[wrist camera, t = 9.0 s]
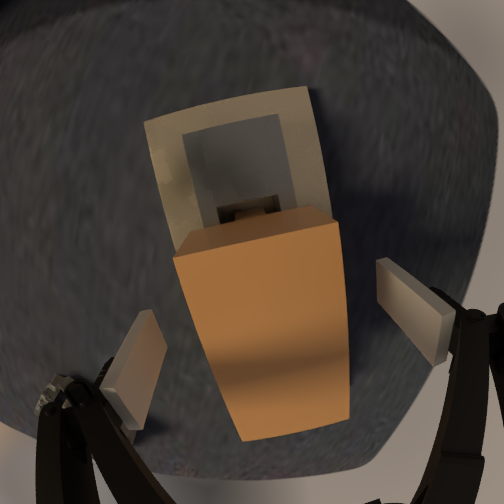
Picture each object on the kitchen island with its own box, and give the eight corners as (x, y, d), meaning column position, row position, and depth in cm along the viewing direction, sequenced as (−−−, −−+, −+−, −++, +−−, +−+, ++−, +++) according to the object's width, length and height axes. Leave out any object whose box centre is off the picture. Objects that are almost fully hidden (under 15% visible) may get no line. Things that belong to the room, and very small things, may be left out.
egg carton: (147, 424, 24) (139, 454, 20) (116, 444, 26) (108, 469, 22) (61, 363, 22) (43, 389, 18) (42, 391, 23) (28, 415, 19)
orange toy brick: (198, 219, 17) (172, 258, 10) (298, 197, 17) (338, 222, 10) (240, 366, 20) (242, 441, 13) (320, 348, 20) (349, 418, 13)
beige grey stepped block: (147, 123, 16) (122, 114, 12) (303, 89, 16) (322, 69, 12) (235, 410, 23) (235, 447, 19) (343, 386, 23) (358, 420, 19)
